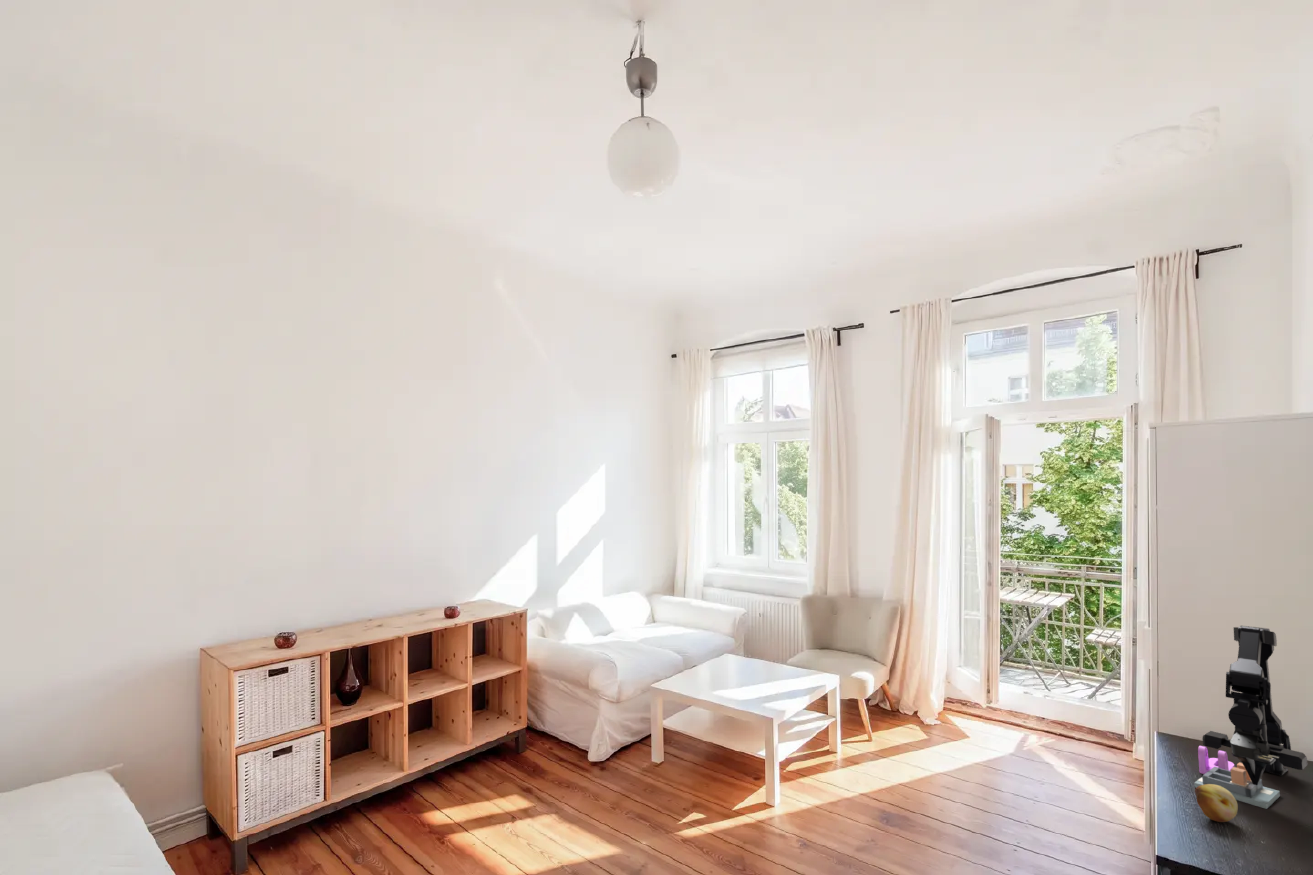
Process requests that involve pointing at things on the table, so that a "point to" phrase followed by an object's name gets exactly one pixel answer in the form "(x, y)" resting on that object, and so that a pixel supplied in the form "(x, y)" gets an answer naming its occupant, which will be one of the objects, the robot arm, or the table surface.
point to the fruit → (1216, 802)
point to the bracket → (1212, 760)
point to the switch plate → (1240, 788)
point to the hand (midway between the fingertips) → (1255, 784)
